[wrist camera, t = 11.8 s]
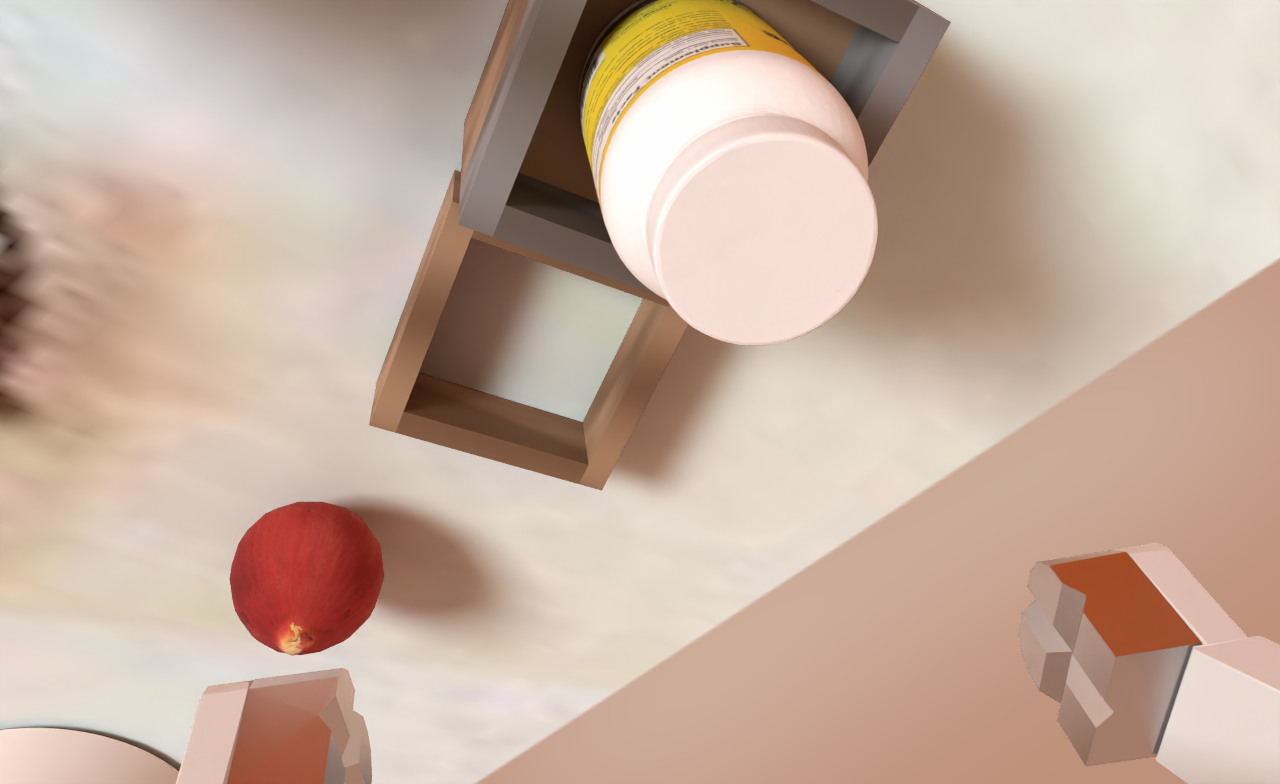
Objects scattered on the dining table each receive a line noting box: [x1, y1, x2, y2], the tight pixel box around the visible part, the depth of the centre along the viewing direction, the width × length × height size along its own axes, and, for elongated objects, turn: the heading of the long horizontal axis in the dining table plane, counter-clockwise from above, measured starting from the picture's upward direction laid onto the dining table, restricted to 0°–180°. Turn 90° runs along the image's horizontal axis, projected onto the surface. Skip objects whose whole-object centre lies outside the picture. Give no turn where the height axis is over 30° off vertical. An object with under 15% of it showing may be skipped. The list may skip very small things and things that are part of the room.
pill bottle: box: [578, 0, 878, 346], centre depth 25 cm, size 6×6×11 cm
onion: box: [230, 502, 384, 656], centre depth 40 cm, size 6×6×8 cm
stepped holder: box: [369, 0, 951, 490], centre depth 34 cm, size 21×10×9 cm, turn 156°
